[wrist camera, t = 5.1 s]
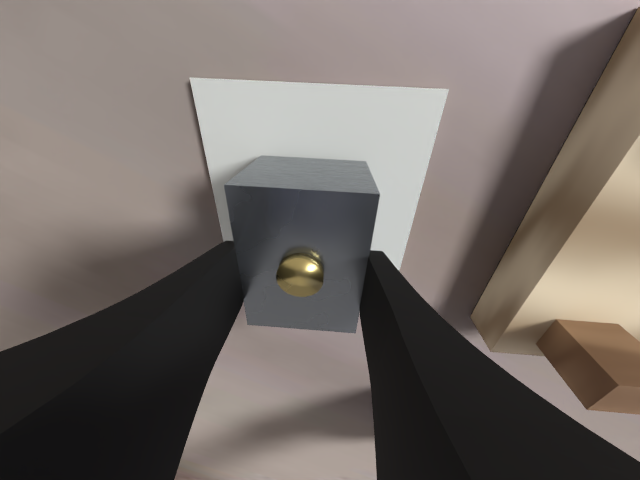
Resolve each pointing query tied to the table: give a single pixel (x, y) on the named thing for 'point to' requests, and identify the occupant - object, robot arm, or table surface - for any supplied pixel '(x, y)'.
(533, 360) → the table surface
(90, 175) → the table surface
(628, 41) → the body
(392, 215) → the felt mat
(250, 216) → the lever cap
